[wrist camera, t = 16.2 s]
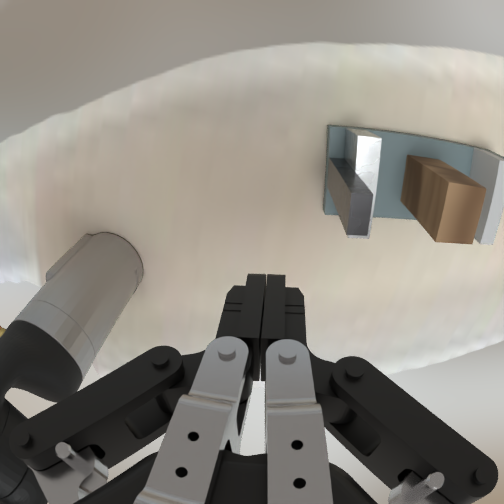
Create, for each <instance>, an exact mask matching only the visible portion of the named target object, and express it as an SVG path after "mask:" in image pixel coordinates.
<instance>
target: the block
mask: <svg viewBox="0 0 504 504" xmlns="http://www.w3.org/2000/svg"><path fill="white" fill-rule="evenodd" d="M485 194H486V188H485V187H483V186H482V185H480V184H479V183H477V182H476V181H474V180H473V179H471V178H470V177H468V176H466V175H465V174H463V173H462V172H460V171H458V170H457V169H455V168H453V167H452V166H450V165H448V164H446V163H445V162H443V161H441V160H439V159H433V158H427V157H420V156H414V155H407V158H406V166H405V173H404V180H403V187H402V193H401V199H400V201H401V202H402V203H403V205H404V206H405V207H406V208H407V209H408V210H409V211H410V212H411V214H412V215H413V216H414V217H415V218H416V219H417V220H418V222H419V223H420V224H421V225H422V226H423V228H424V229H425V230H426V231H427V232H428V234H429V235H430V236H431V237H432V238H433V240H434V241H435V242H444V243H460V244H472V243H473V240H474V236H475V233H476V229H477V226H478V222H479V219H480V215H481V211H482V207H483V203H484V198H485Z"/></svg>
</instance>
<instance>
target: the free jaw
mask: <svg viewBox="0 0 504 504" xmlns="http://www.w3.org/2000/svg"><path fill="white" fill-rule="evenodd" d="M381 141H382V138H380V137H379V136H377V135H375V134H373V133H371V132H369V131H367V130H361V129H350V128H346V140H345V157H344V159H342V158H329V167H328V183H327V188H328V190H329V193H330V195H331V197H332V200H333V202H334V205H335V207H336V210H337V212H338V215H339V217H340V220H341V222H342V225H343V227H344V230H345V232H346V235H347V237H348V238H367V239H369V237H370V231H371V224H372V218H373V211H374V204H375V197H376V189H377V181H378V172H379V163H380V152H381Z"/></svg>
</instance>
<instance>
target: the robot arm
mask: <svg viewBox="0 0 504 504" xmlns="http://www.w3.org/2000/svg"><path fill="white" fill-rule="evenodd" d="M142 276H143V267H142V262H141V260H140V257H139V255H138V254H137V252H136V251H135V249H134V248H133V247H132V246H131V245H130V244H129V243H128V242H127V241H125V240H124V239H123V238H121V237H119V236H117V235H114V234H111V233H98V234H96V235H93V236H92V235H88V234H85V235H84V236H83V237H82V238H81V239H80V240H79V241H78V242H77V243H76V244H75V245H74V246H73V247H72V248H70V249H69V250H68V251H67V252H66V253H65V254H64V255H63V256H62V257H61V258H60V259H59V260H58V261H57V262H56V263H55V264H54V265H53V266H52V267H51V268H50V269H49V270H48V271H47V273H46V284H45V285H44V286H43V287H42V288H41V289H40V290H39V292H38V293H37V294H36V295H35V296H34V297H33V298H32V299H31V301H30V302H29V303H28V304H27V306H26V307H25V308H24V309H23V310H22V312H20V314H19V315H18V316H17V317H16V318H15V320H14V321H13V322H12V323H11V324H10V325H9V327H8V328H7V329H6V331H5V332H4V333H3V334H2V336H1V337H0V504H47V503H49V504H377V502H375V501H374V500H373V499H372V498H371V497H370V496H369V495H368V494H367V493H366V492H365V491H364V490H363V489H362V488H361V486H359V484H357V482H355V481H354V479H353V478H352V477H351V476H350V475H349V474H348V473H346V472H345V471H344V470H343V469H341V468H339V467H338V466H336V465H334V464H332V463H329V461H328V453H327V445H326V437H325V430H324V427H325V428H326V429H327V430H328V431H329V432H330V433H331V434H332V435H333V436H334V437H335V438H336V439H337V440H338V441H339V442H340V443H341V444H342V445H344V446H345V448H346V449H348V450H349V451H350V452H351V453H352V454H353V455H354V456H355V457H356V458H357V459H358V460H359V461H360V462H361V463H362V464H363V465H365V466H366V467H367V468H368V469H369V470H370V471H371V472H372V473H373V474H374V475H375V476H376V477H378V478H379V479H380V480H381V481H382V482H383V483H384V484H386V486H388V487H389V488H390V489H391V490H392V491H391V492H390V495H389V499H388V502H389V504H471V503H473V502H475V501H477V500H479V499H481V498H482V497H484V496H486V495H487V494H489V493H490V492H491V491H492V490H493V489H494V487H495V485H496V483H497V480H498V470H497V466H496V464H495V463H494V461H493V460H491V459H490V458H489V457H488V456H486V455H485V454H484V453H483V452H481V451H480V450H479V449H477V448H476V447H475V446H474V445H472V444H471V443H470V442H469V441H467V440H466V439H465V438H463V437H462V436H461V435H460V434H458V433H457V432H456V431H455V430H453V429H452V428H451V427H449V426H448V425H447V424H446V423H444V422H443V421H442V420H441V419H439V418H438V417H437V416H435V415H434V414H432V412H430V411H429V410H428V409H427V408H425V407H424V406H423V405H421V404H420V403H419V402H418V401H417V400H415V399H414V398H413V397H411V396H410V395H409V394H408V393H406V392H405V391H404V390H403V389H402V388H400V387H399V386H398V385H396V384H395V383H394V382H393V381H392V380H390V379H389V378H388V377H387V376H385V375H384V374H383V373H382V372H380V371H379V370H378V369H377V368H375V367H374V366H373V365H372V364H370V363H369V362H368V361H366V360H365V359H363V358H360V357H355V356H349V357H344V358H342V359H340V360H338V361H337V362H336V363H333V362H329V361H325V360H322V359H320V358H318V357H316V356H315V355H313V354H312V353H311V352H310V350H309V349H308V347H307V343H306V325H305V307H304V296H303V294H302V293H301V291H300V290H299V288H290V287H285V275H273V274H267V284H266V274H248V276H247V281H246V286H236V285H234V286H233V288H232V289H231V290H230V291H229V292H228V293H227V296H226V300H225V304H224V308H223V312H222V315H221V319H220V323H219V327H218V331H217V335H216V338H215V340H213V341H212V342H211V343H209V345H208V346H207V348H206V350H204V351H202V352H199V353H195V354H188V355H182V356H181V355H180V353H179V352H178V351H177V350H176V349H175V348H173V347H170V346H157V347H154V348H152V349H150V350H148V351H146V352H145V353H143V354H141V355H140V356H138V357H136V358H135V359H133V360H131V361H130V362H128V363H126V364H125V365H123V366H121V367H119V368H118V369H116V370H114V371H113V372H111V373H109V374H107V375H106V376H104V377H102V378H101V379H99V380H97V381H95V382H94V383H92V384H91V385H88V386H87V387H85V388H83V389H81V390H80V391H78V392H77V390H78V389H79V387H80V385H81V383H82V381H83V379H84V377H85V375H86V374H87V372H88V370H89V368H90V366H91V364H92V363H93V361H94V359H95V357H96V355H97V354H98V352H99V350H100V348H101V347H102V345H103V343H104V341H105V340H106V338H107V336H108V334H109V333H110V331H111V329H112V328H113V326H114V324H115V323H116V321H117V319H118V318H119V316H120V314H121V313H122V311H123V309H124V308H125V306H126V304H127V303H128V301H129V300H130V298H131V296H132V295H133V294H134V292H135V291H136V289H137V287H138V285H139V283H140V282H141V280H142ZM260 368H261V381H265V454H258V455H252V456H243V455H240V443H241V438H242V433H243V429H244V425H245V420H246V415H247V411H248V406H249V402H250V395H251V392H252V385H253V381H259V378H260ZM11 387H12V388H18V389H22V390H25V391H28V392H30V393H33V394H35V395H37V396H39V397H41V398H44V399H46V400H49V401H52V402H57V404H55V405H53V406H51V407H49V408H48V409H46V410H44V411H42V412H40V413H38V414H37V415H35V416H33V417H31V418H29V419H27V418H26V417H25V416H24V415H23V414H22V413H21V412H20V411H18V410H17V409H16V408H15V407H14V406H13V405H12V404H11V403H10V402H9V401H7V400H6V399H5V394H6V392H7V391H8V390H9V389H10V388H11ZM164 433H166V434H165V436H164V439H163V441H162V444H161V447H160V449H159V451H158V452H155V453H153V454H151V455H149V456H147V457H145V458H144V459H142V460H141V461H139V462H138V463H136V464H135V465H133V466H132V467H131V468H129V469H127V470H126V471H125V472H123V473H122V474H120V475H119V476H117V477H115V478H114V479H113V480H111V481H109V482H108V483H107V479H108V469H109V468H111V467H113V466H114V465H116V464H118V463H119V462H121V461H122V460H124V459H126V458H127V457H129V456H131V455H132V454H134V453H135V452H137V451H138V450H140V449H142V448H143V447H145V446H146V445H148V444H149V443H151V442H152V441H154V440H155V439H157V438H158V437H160V436H161V435H163V434H164Z"/></svg>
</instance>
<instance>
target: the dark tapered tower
mask: <svg viewBox="0 0 504 504" xmlns="http://www.w3.org/2000/svg"><path fill="white" fill-rule="evenodd" d="M5 331H6V329H4V328H2V327H1V326H0V337H1V336H2V334H3V333H4V332H5Z"/></svg>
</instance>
